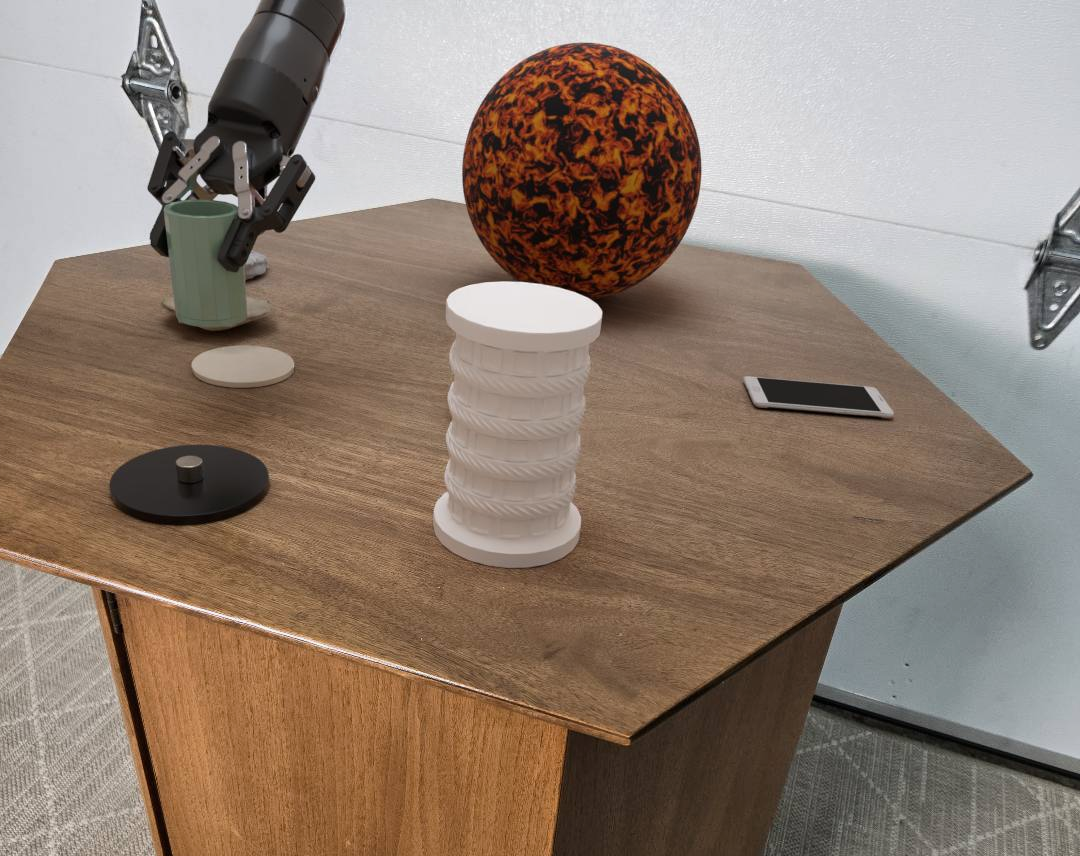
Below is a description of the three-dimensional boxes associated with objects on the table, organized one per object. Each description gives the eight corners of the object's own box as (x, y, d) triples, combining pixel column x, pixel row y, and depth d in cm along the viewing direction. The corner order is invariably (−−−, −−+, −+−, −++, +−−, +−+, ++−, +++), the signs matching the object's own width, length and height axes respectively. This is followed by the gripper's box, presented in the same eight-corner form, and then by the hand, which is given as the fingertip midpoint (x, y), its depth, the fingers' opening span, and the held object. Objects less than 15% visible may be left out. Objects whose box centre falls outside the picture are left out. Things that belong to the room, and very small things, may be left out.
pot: (161, 315, 83) (148, 206, 78) (214, 300, 87) (204, 196, 83) (209, 332, 81) (199, 221, 76) (261, 316, 85) (254, 209, 80)
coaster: (170, 368, 98) (169, 363, 98) (245, 343, 105) (244, 338, 105) (242, 396, 94) (241, 390, 93) (315, 368, 101) (314, 362, 101)
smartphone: (742, 375, 108) (875, 386, 109) (741, 380, 109) (874, 391, 109) (754, 402, 102) (896, 414, 102) (753, 408, 102) (894, 420, 103)
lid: (77, 490, 76) (72, 464, 75) (198, 439, 85) (195, 415, 84) (184, 542, 71) (181, 515, 70) (300, 483, 80) (299, 458, 79)
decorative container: (429, 564, 72) (437, 328, 62) (435, 488, 82) (443, 274, 72) (586, 571, 73) (617, 340, 63) (573, 495, 83) (599, 285, 73)
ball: (528, 344, 113) (552, 55, 97) (419, 269, 134) (425, 22, 118) (726, 320, 127) (775, 64, 111) (600, 256, 148) (626, 33, 132)
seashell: (239, 301, 117) (237, 277, 115) (294, 330, 110) (293, 305, 108) (145, 318, 109) (142, 293, 108) (199, 350, 102) (196, 324, 101)
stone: (264, 242, 130) (274, 244, 121) (266, 278, 131) (276, 283, 123) (185, 241, 126) (190, 243, 118) (188, 278, 128) (193, 283, 119)
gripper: (176, 44, 82) (93, 217, 78) (325, 66, 78) (244, 250, 74) (222, 106, 89) (147, 268, 85) (361, 129, 85) (288, 299, 81)
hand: (193, 258), depth 80 cm, fingers closed on pot, 6 cm apart
